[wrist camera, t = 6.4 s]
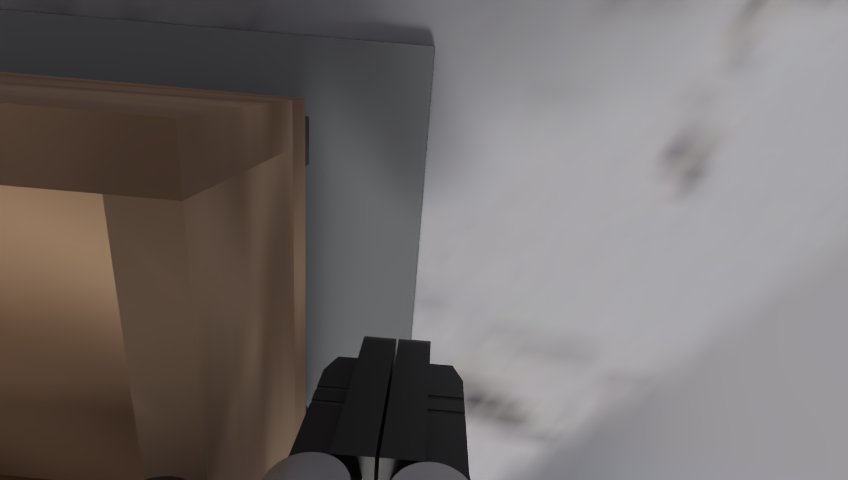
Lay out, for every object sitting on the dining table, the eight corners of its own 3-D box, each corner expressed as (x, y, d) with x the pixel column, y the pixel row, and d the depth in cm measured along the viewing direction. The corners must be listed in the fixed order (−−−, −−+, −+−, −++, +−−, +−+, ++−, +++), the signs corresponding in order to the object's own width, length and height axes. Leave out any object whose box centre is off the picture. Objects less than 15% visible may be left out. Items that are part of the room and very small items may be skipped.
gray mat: (-189, -7, 14) (-207, -9, 13) (435, 47, 14) (434, 46, 13) (-57, 420, 18) (-68, 427, 18) (400, 461, 18) (400, 468, 18)
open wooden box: (-87, 57, 13) (-839, 30, 6) (331, 94, 13) (174, 118, 6) (2, 405, 17) (-366, 680, 9) (326, 434, 17) (229, 735, 9)
